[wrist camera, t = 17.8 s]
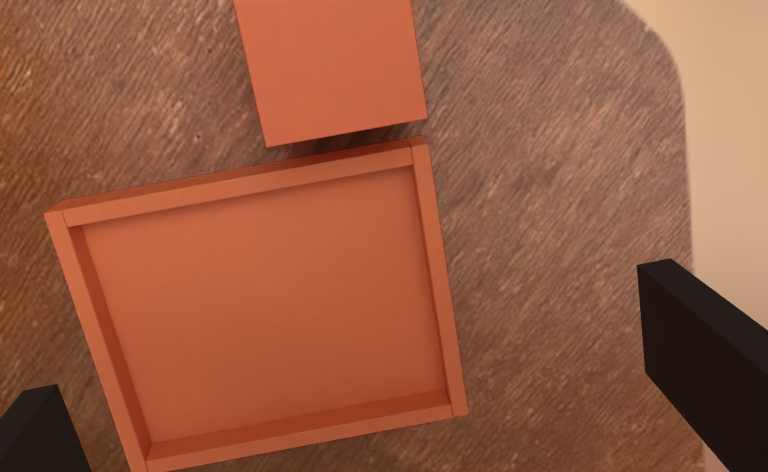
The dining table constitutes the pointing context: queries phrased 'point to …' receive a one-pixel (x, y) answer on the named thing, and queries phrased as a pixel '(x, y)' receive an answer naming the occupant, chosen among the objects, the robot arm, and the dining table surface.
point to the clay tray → (266, 304)
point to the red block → (331, 66)
